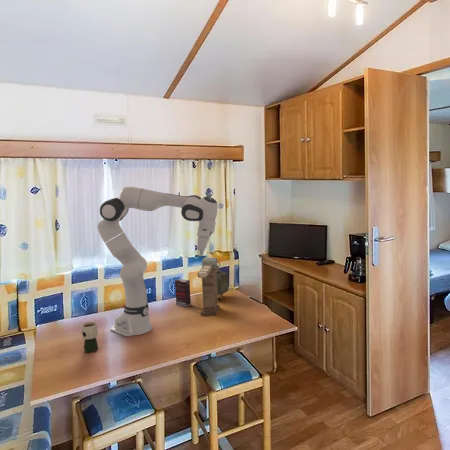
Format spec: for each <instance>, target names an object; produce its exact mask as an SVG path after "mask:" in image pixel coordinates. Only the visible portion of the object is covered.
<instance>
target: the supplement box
mask: <svg viewBox="0 0 450 450" xmlns="http://www.w3.org/2000/svg"><path fill="white" fill-rule="evenodd" d="M190 283H191V282H190V279H182V278H178V279H175V280H174V285H175V286H174V288H175V289H174V290H175V305H177V306H182V307H188V306H190V305H191V304H192V303H191V302H192V301H191V284H190Z"/></svg>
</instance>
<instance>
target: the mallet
mask: <svg viewBox="0 0 450 450" xmlns="http://www.w3.org/2000/svg"><path fill="white" fill-rule="evenodd" d="M201 265H202V266H201V267H202V268H201V269H202V270H201V269H200V270H201V271H200V270H199V271H200V272H199V271H198V272H199V277H198V278H200V279H202V278H206V277H207V276H208V274H209V273H210V271H211V270H212V269H216V267H217V266H218V257H203V258H202V260H201Z"/></svg>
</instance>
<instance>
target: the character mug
mask: <svg viewBox="0 0 450 450" xmlns="http://www.w3.org/2000/svg"><path fill="white" fill-rule="evenodd" d="M80 328H81V338H82V339H83V340H84V341H83V343H84V344H83V350H84V352H85V353H90V352H91V353H92V352H94V351H96V350H98V349H99V346H98V341H97V340H98V339H97V337H98V334H99V332H98V323H97V322H96V321H86V322H84V323H82V324H81V325H80Z"/></svg>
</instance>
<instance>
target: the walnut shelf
mask: <svg viewBox="0 0 450 450" xmlns="http://www.w3.org/2000/svg"><path fill="white" fill-rule="evenodd" d="M218 266H219V265H217V267H216V269H212V270H211V271H210V273H209V274H208V276H207V277H206V278H201V284H202V304H203V305H202V306H203V308H202V310H201V312H200V316H202V317H203V316H205V317H206V316H207V317H208V316H211V317H212V316H215V317H216V316H217V314H218V312H219V309H220V304H218V295H217V281H216V272H217V270H218V269H219V267H218ZM201 270H202V268H201V269H200V270H199V271H198V272H197V278H199V272H200V271H201Z"/></svg>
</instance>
